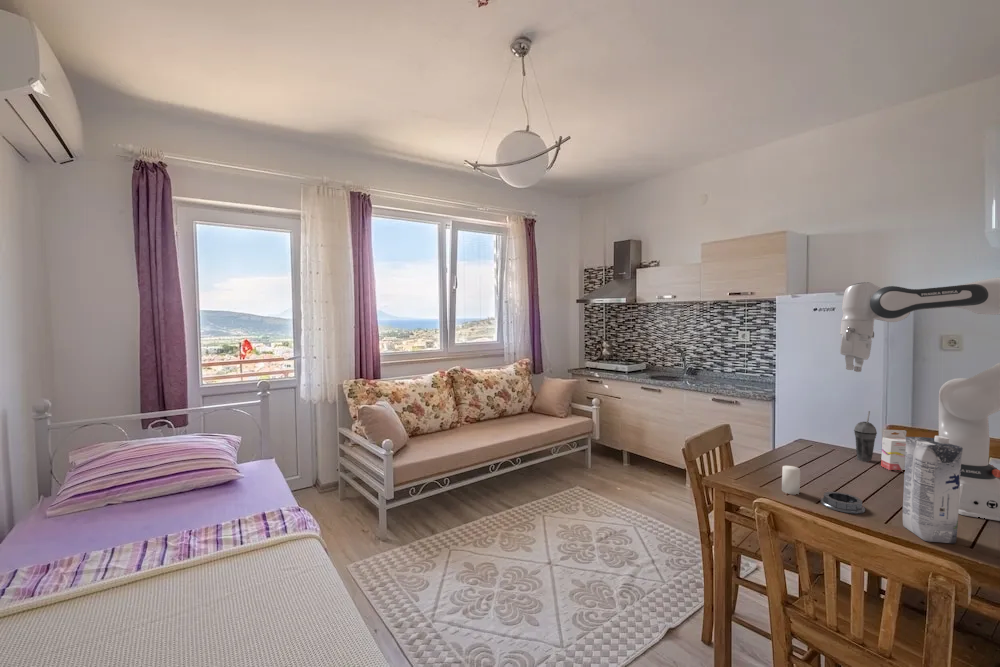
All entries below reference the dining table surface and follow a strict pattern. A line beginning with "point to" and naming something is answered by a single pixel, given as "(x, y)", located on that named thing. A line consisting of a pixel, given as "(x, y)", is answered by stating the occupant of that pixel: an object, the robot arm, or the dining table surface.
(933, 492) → the juice carton
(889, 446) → the ink cartridge box
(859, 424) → the beverage cup
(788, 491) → the plug
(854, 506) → the holder
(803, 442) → the dining table surface
